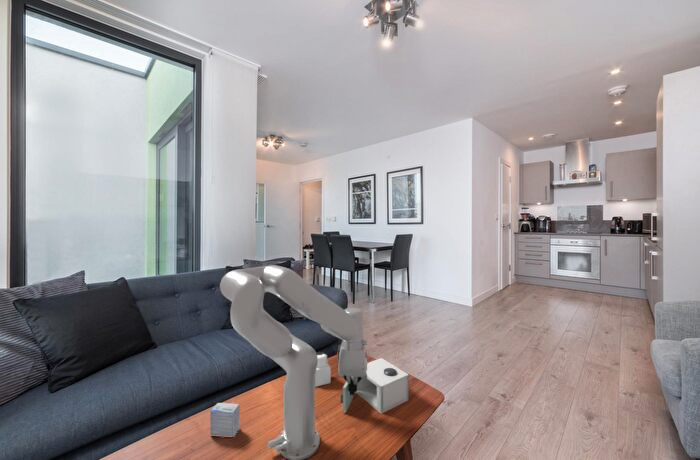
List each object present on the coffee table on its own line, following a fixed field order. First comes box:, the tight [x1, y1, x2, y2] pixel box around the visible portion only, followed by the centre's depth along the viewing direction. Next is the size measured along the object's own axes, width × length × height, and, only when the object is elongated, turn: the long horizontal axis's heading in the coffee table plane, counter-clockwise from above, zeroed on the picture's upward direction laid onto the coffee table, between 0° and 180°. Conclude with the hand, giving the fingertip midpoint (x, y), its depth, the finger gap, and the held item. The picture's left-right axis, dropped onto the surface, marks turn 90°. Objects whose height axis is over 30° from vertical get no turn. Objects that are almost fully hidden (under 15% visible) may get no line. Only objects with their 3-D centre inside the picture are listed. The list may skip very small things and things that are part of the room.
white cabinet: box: [355, 357, 410, 414], centre depth 111 cm, size 14×16×11 cm
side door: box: [340, 376, 357, 414], centre depth 107 cm, size 2×13×9 cm, turn 162°
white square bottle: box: [315, 351, 332, 388], centre depth 121 cm, size 7×7×12 cm
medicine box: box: [209, 402, 241, 438], centre depth 91 cm, size 8×4×9 cm, turn 84°
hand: (352, 393), depth 101 cm, fingers closed
